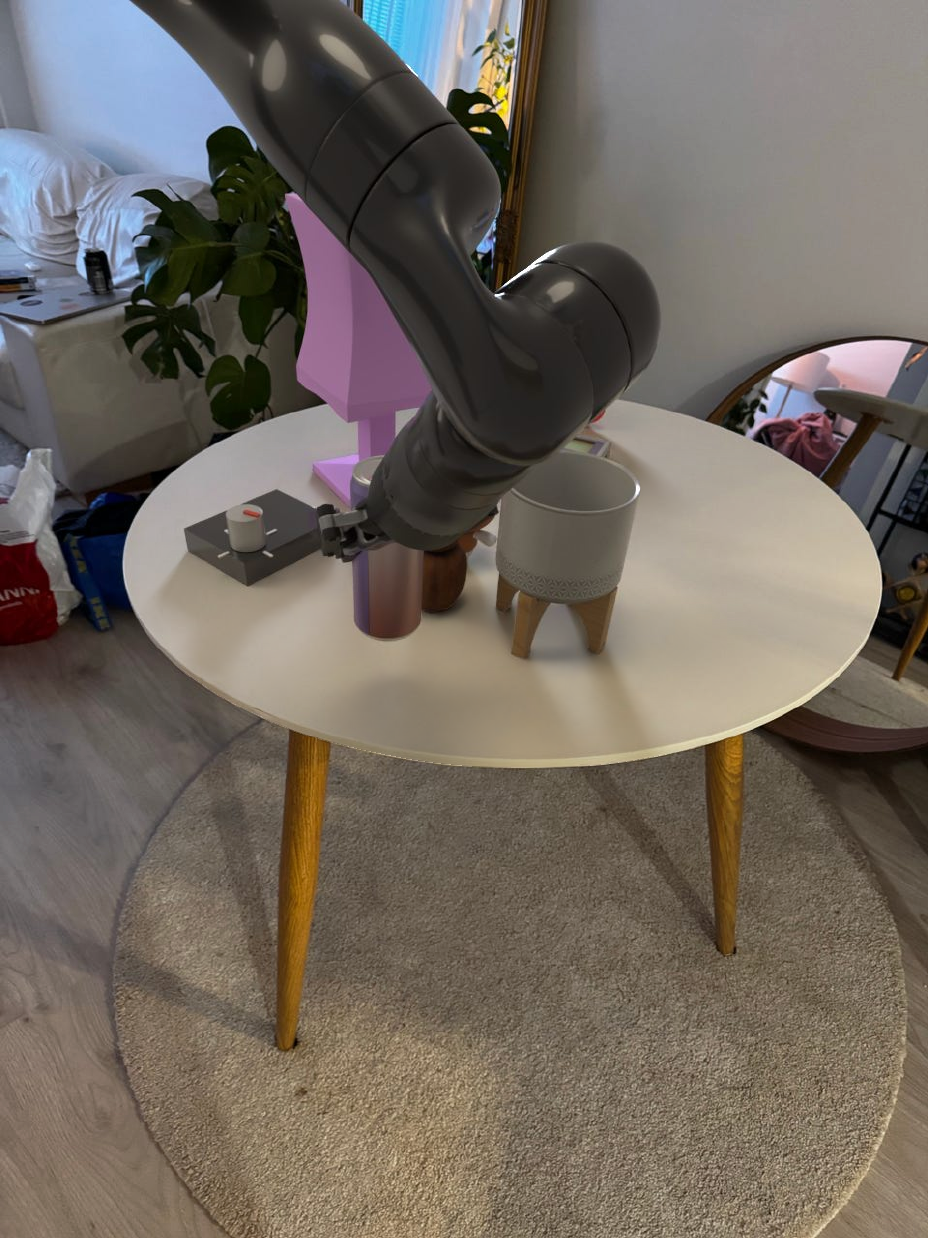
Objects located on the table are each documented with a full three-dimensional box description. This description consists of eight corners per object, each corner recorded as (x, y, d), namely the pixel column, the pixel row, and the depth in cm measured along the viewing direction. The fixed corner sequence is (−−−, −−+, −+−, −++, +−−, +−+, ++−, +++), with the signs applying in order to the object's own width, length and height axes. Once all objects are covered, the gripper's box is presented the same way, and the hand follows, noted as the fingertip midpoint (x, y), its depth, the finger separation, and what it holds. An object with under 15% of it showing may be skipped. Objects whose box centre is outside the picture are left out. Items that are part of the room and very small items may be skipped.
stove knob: (222, 547, 86) (217, 513, 83) (244, 531, 89) (239, 498, 86) (252, 556, 84) (248, 522, 82) (273, 539, 87) (269, 506, 85)
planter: (528, 579, 89) (546, 438, 79) (627, 621, 84) (662, 475, 73) (465, 632, 81) (477, 481, 70) (572, 683, 75) (602, 527, 64)
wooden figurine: (428, 626, 81) (433, 502, 72) (394, 601, 84) (395, 479, 75) (474, 603, 85) (484, 482, 76) (440, 580, 88) (446, 462, 79)
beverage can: (340, 630, 66) (334, 474, 57) (377, 597, 71) (376, 447, 62) (398, 653, 64) (400, 495, 55) (433, 617, 69) (440, 466, 60)
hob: (245, 594, 84) (242, 570, 82) (179, 553, 89) (174, 530, 87) (343, 542, 94) (342, 520, 92) (278, 509, 99) (276, 487, 97)
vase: (399, 449, 116) (401, 190, 95) (452, 492, 106) (468, 212, 85) (303, 469, 109) (283, 193, 88) (351, 517, 99) (340, 218, 78)
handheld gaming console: (523, 462, 107) (555, 425, 118) (520, 484, 109) (552, 446, 120) (585, 477, 104) (612, 438, 115) (581, 500, 106) (608, 459, 117)
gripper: (345, 551, 46) (307, 602, 62) (550, 517, 51) (468, 572, 67) (318, 435, 47) (287, 514, 62) (523, 413, 52) (448, 491, 67)
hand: (381, 544), depth 64 cm, fingers closed on beverage can, 6 cm apart
